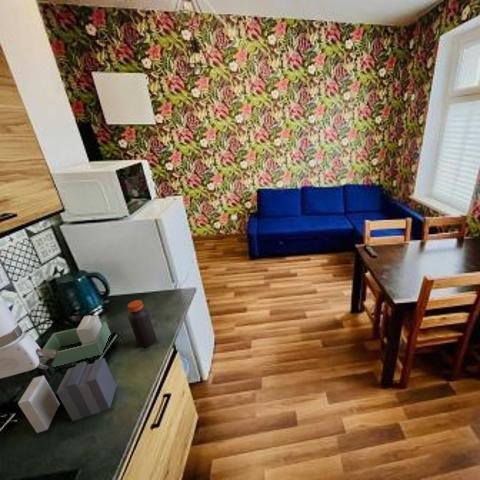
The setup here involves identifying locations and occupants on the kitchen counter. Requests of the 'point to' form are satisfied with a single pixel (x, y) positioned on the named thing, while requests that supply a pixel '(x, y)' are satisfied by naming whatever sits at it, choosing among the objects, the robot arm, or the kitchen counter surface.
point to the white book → (39, 404)
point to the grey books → (87, 389)
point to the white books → (89, 329)
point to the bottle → (141, 324)
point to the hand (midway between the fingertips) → (29, 382)
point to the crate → (79, 351)
